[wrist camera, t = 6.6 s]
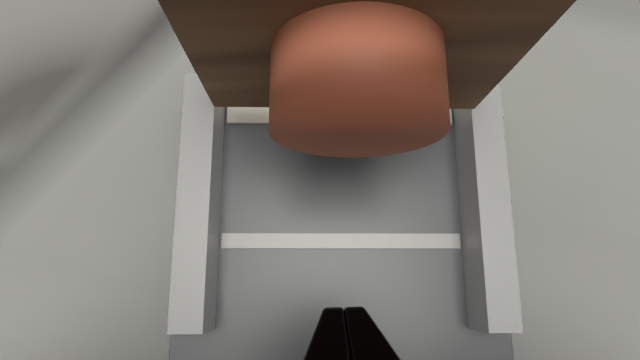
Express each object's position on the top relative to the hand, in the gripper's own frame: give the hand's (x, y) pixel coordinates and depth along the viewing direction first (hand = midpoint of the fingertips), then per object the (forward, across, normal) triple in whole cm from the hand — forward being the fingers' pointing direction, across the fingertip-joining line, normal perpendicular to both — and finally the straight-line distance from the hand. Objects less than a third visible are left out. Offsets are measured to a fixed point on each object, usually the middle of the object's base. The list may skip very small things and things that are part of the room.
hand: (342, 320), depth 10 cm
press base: (+5, 0, +4) cm, 7 cm away
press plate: (+6, -1, -2) cm, 6 cm away
